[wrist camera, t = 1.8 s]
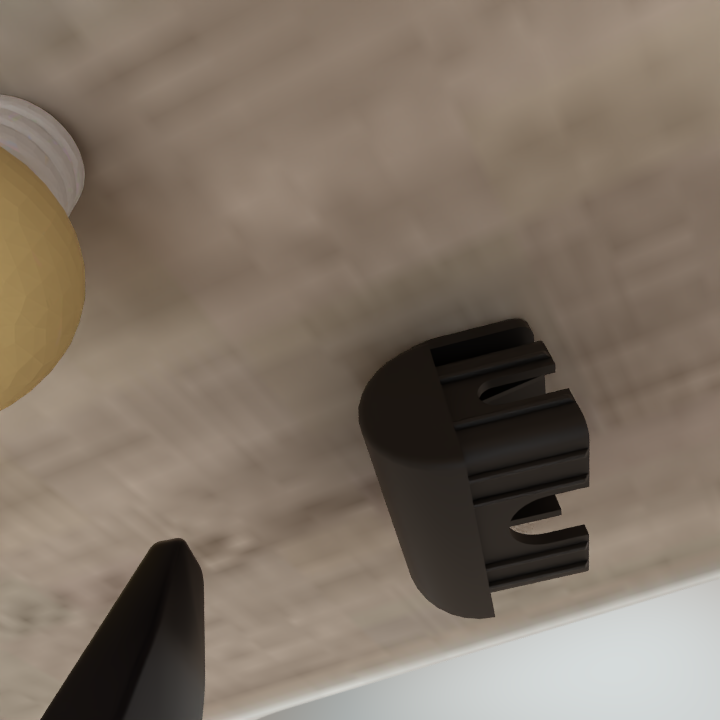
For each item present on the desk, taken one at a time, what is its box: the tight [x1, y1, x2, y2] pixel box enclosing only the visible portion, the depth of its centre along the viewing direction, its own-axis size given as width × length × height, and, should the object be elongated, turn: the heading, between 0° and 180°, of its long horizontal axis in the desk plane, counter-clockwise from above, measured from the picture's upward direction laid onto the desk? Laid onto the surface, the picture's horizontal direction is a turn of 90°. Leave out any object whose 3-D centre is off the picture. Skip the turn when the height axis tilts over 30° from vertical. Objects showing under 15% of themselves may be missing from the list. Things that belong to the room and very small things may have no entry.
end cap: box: [358, 319, 589, 619], centre depth 24 cm, size 10×7×7 cm
